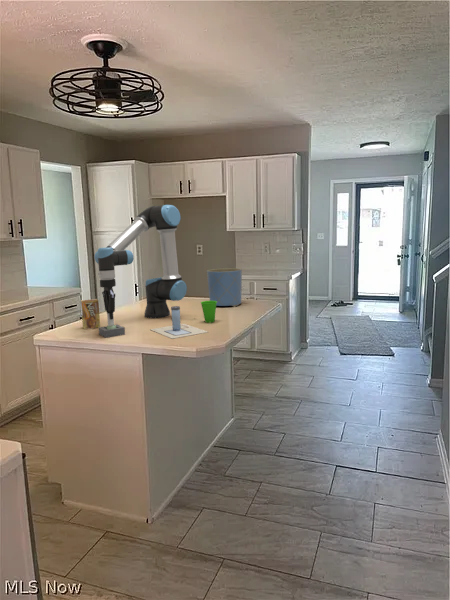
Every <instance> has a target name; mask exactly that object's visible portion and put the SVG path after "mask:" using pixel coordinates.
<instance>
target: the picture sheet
mask: <svg viewBox="0 0 450 600" xmlns="http://www.w3.org/2000/svg"><path fill="white" fill-rule="evenodd" d="M149 330H150V331H152V332H154V333H157V334H159V335H161V336H164V337H166V338H168V339H172V340H174V339H180V338H185V336H186V337H190V336H195V335H202V334H206V333H209V331H207V330H206V329H205V330H204V329H202V328H201V329H200V327H199V328H198V327H196V326H192V325H189V324H186V323H181V328H180V330H179V331H173V328H172V325H167V326H163V327H156V328H151V329H149ZM179 337H180V338H179Z"/></svg>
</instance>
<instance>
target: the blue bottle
mask: <svg viewBox="0 0 450 600" xmlns="http://www.w3.org/2000/svg"><path fill="white" fill-rule="evenodd" d="M170 310H171V311H170V313H171V324H172V325H171V326H172V328H173V331H179V330H180V328H181V324H182V323H181V306H178V305H175V306H174V305H173V306H171V307H170Z"/></svg>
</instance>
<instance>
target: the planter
mask: <svg viewBox="0 0 450 600" xmlns="http://www.w3.org/2000/svg"><path fill="white" fill-rule="evenodd" d="M242 273H243V272H242V268H233V267H230V268H229V267H227V268H223V267H222V268H213V269H207V270H206V274H207V275H206V276H207V286H208V294H209V295H208V296H209V301H217V303H216V307H218V306H219V307H228V306H232V307H233V308H235V307H237V306H239V305H240V304H242V288H243V287H242V285H243V281H242V280H243V279H242V277H243V276H242V275H243V274H242ZM234 306H235V307H234Z"/></svg>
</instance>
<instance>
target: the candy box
mask: <svg viewBox="0 0 450 600" xmlns="http://www.w3.org/2000/svg"><path fill="white" fill-rule="evenodd" d="M99 307H100V306H99V299H98V298H92V299H85V300H83V299H81V300H80V309H81V310H80V311H81V321H82V328H83V329H84V330H87V329H95V328H96V329H97V328H99V327H101V318H100V317H101V316H100V308H99Z"/></svg>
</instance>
